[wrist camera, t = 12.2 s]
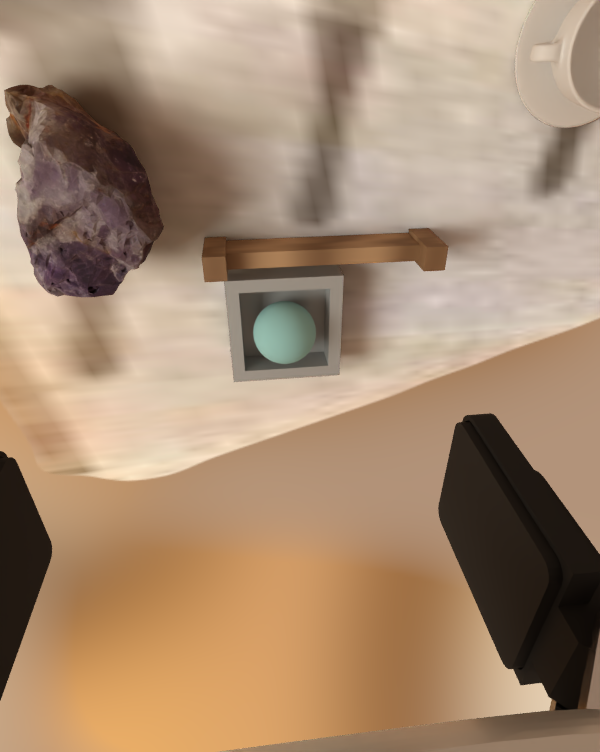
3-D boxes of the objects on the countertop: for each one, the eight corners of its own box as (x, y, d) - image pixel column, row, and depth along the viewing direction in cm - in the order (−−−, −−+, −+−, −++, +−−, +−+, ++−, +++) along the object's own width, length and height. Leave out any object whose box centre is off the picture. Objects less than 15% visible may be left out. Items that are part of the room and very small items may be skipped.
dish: (336, 261, 40) (343, 275, 38) (333, 356, 45) (339, 374, 43) (224, 266, 40) (224, 281, 37) (233, 363, 44) (233, 382, 42)
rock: (45, 246, 38) (178, 254, 40) (3, 310, 32) (164, 316, 33) (-1, 72, 31) (167, 88, 32) (-67, 110, 24) (145, 128, 26)
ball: (313, 289, 41) (319, 318, 36) (313, 342, 43) (318, 374, 39) (252, 291, 40) (250, 320, 36) (255, 344, 43) (254, 377, 39)
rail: (428, 228, 40) (448, 246, 36) (425, 250, 41) (444, 270, 37) (204, 237, 38) (201, 257, 34) (207, 260, 39) (204, 282, 35)
